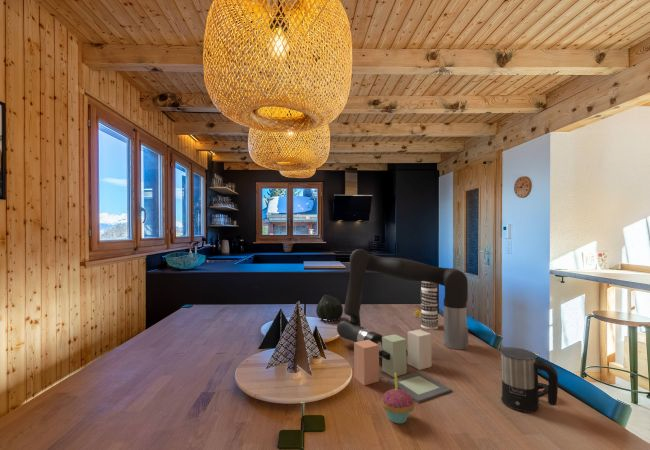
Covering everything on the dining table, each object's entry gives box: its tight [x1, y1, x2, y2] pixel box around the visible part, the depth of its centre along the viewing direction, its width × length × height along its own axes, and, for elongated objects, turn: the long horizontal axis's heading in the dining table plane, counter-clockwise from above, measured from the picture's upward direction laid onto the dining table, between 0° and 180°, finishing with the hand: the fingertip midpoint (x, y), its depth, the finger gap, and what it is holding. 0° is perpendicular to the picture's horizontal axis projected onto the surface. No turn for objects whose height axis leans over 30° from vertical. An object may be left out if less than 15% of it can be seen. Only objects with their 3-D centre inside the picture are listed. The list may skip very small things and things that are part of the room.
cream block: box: [406, 328, 432, 371], centre depth 116 cm, size 6×6×12 cm
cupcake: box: [381, 370, 415, 424], centre depth 83 cm, size 9×8×12 cm
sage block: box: [381, 334, 408, 378], centre depth 111 cm, size 6×6×12 cm
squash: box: [316, 294, 344, 322], centre depth 177 cm, size 14×15×15 cm
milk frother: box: [499, 346, 559, 413], centre depth 92 cm, size 14×16×15 cm
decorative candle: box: [419, 281, 439, 330], centre depth 163 cm, size 9×9×25 cm
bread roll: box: [413, 309, 422, 319], centre depth 182 cm, size 8×9×4 cm
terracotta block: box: [353, 340, 380, 386], centre depth 105 cm, size 6×6×12 cm
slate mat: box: [387, 371, 453, 404], centre depth 100 cm, size 14×14×1 cm
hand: (398, 355), depth 109 cm, fingers open, 7 cm apart
